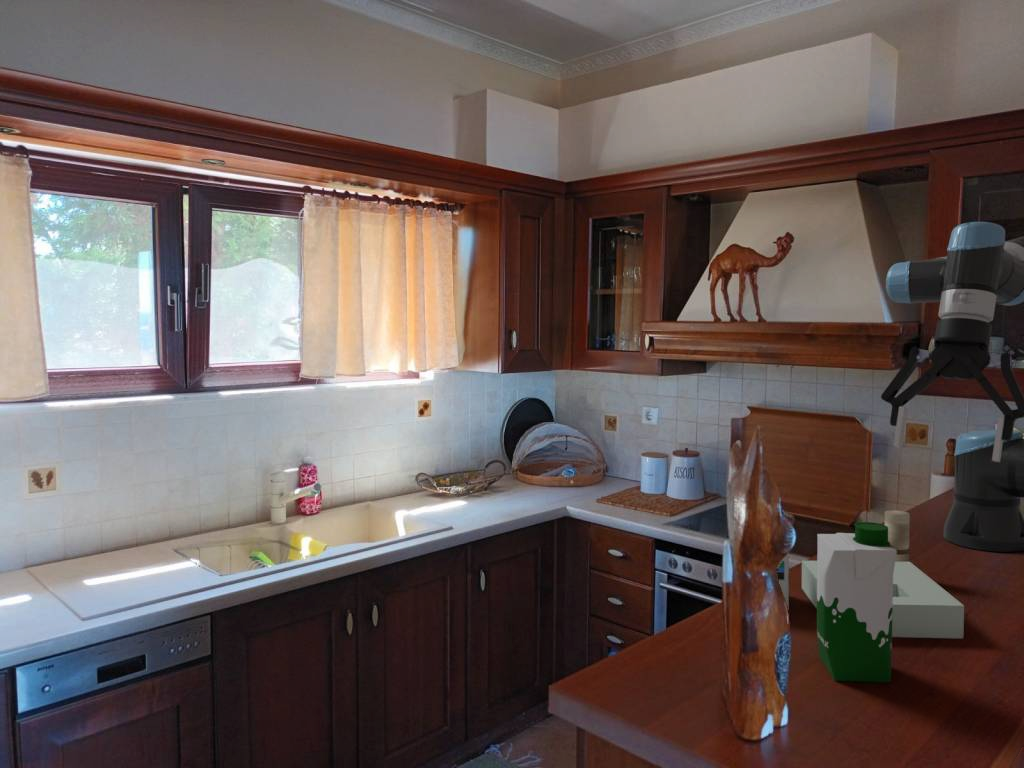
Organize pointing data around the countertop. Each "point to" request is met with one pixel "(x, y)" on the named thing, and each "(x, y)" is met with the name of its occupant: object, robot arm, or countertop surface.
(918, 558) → the countertop surface
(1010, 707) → the countertop surface
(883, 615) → the milk carton
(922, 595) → the board
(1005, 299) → the robot arm
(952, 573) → the countertop surface
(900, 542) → the peg
